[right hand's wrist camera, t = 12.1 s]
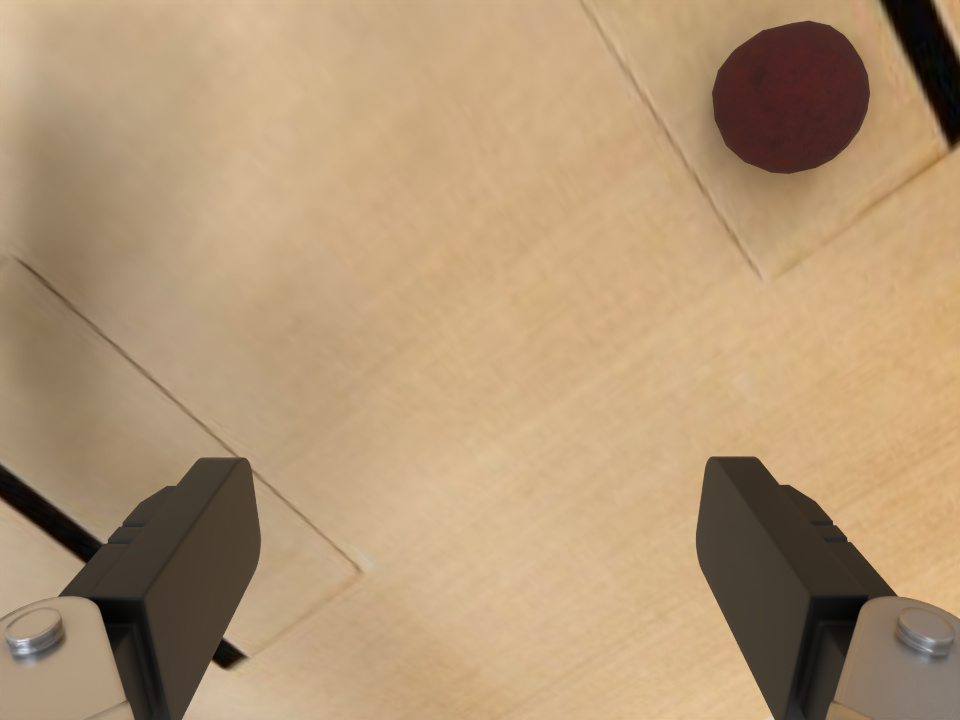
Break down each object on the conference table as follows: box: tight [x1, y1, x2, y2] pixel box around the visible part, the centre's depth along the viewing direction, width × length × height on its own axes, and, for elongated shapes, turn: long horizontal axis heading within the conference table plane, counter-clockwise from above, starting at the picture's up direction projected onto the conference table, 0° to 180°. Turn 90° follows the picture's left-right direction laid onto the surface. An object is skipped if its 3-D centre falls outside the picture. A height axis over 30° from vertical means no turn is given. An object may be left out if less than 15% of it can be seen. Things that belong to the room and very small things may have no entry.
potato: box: [712, 21, 870, 174], centre depth 34 cm, size 7×8×7 cm
